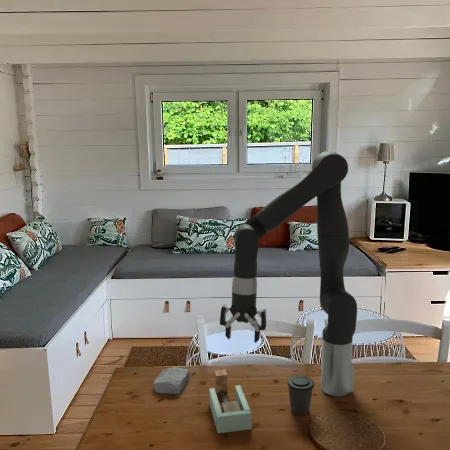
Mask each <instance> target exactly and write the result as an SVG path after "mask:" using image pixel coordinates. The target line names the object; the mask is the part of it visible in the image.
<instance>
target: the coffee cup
mask: <svg viewBox="0 0 450 450" xmlns="http://www.w3.org/2000/svg"><path fill="white" fill-rule="evenodd" d="M286 385H287V386H288V394H289V395H288V396H289V402H290V403H289V405H290V412H291V413H292V414H293V415H295V416H300V417H305V416H306V415H309V413H310V408H311V401H312V395H313V389H314V388H315V385H316V384H315V381H314V380H313V379H312V378H310V377H308V376H306V375H293V376H290V377H289V378H288V379H287V381H286Z"/></svg>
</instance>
